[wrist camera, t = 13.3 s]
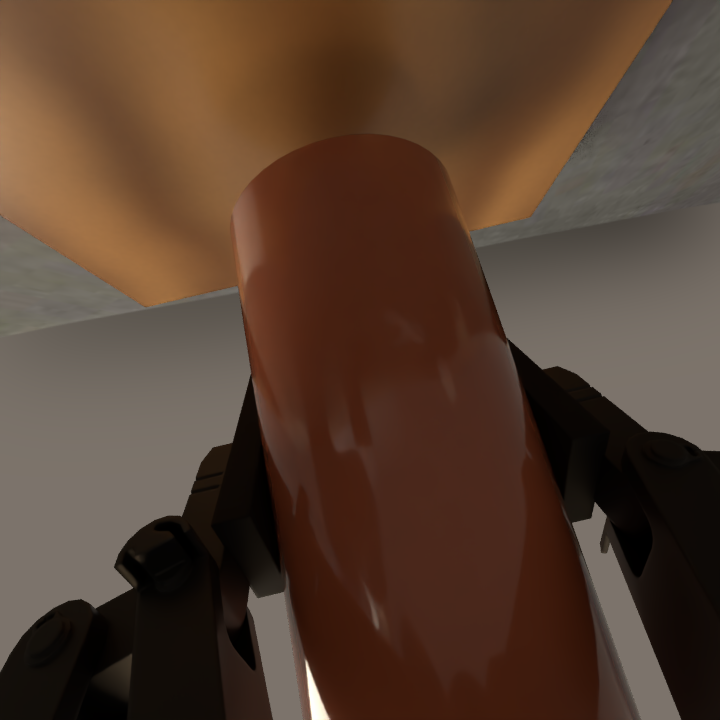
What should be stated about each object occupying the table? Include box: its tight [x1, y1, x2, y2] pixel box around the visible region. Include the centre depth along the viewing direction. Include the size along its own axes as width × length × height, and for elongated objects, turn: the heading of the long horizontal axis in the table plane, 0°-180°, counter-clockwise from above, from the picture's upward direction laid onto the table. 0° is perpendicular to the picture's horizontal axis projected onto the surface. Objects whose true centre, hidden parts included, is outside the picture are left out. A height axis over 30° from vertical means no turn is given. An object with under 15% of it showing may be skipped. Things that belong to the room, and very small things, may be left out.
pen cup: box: [230, 134, 641, 720], centre depth 9 cm, size 6×6×12 cm
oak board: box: [0, 0, 673, 307], centre depth 12 cm, size 20×14×3 cm
